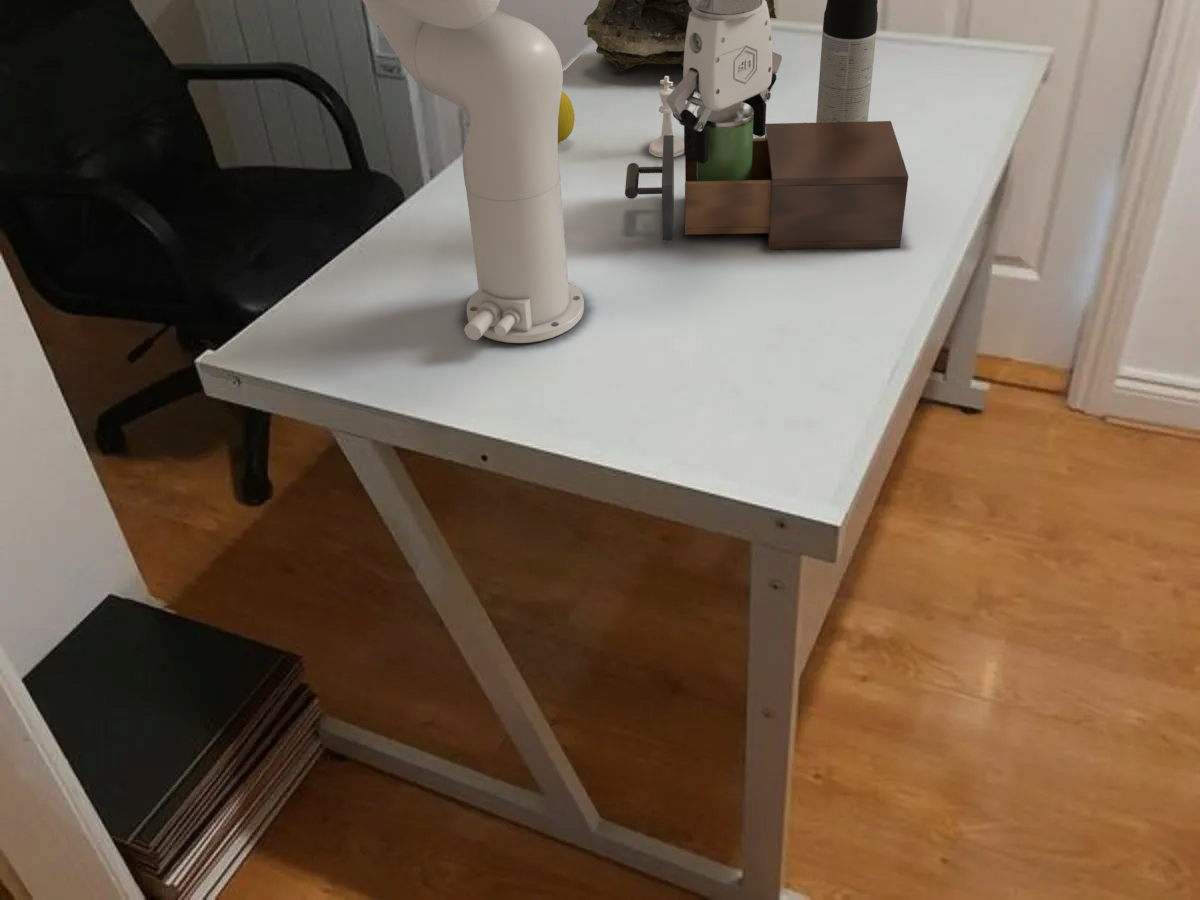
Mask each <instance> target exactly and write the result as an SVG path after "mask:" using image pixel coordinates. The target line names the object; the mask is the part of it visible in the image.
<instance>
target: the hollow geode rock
mask: <svg viewBox="0 0 1200 900" xmlns="http://www.w3.org/2000/svg"><path fill="white" fill-rule="evenodd" d="M765 1H766V2H767V6H768V11H769V17H770V19H775V20H776V19H777V18H778V17H777V15H776V10H777V9H776V8H775V0H765ZM691 11H692V8H691V7H690V5H689V2H688V0H598V2H597V6H596V8H595V9H594V10H593V11H592V12H591V13H590V14H589V15H587V16H586V17H585V19H584V22H583V25H584V26H586V31H587V32H586V33H587V34H586V35H587V38H591V40H592V41H593V42H595V44H596V45H597V47H596V50H595V52H596V53H597V54H599V55H602V56H603V58H604V59H605V60H606V61H608V62H609V63H611V64H613V65H615V66H616V69H617V70H618V71H619V72H623V71H626V70H628V69H631V68H633V67H635V66H642V65H644V64H656V65H659V64H661V65H666V64H670V65H671V64H673V65H674V64H680V65H681V66H682V67H684V50H685V40H686V31H687V25H688V19H689V14H690V12H691Z"/></svg>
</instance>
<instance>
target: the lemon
mask: <svg viewBox="0 0 1200 900" xmlns="http://www.w3.org/2000/svg"><path fill="white" fill-rule="evenodd" d="M575 121H576V116H575V109H574V106H573V103H572V101H571V98H570V97H569V96H568V95H567V94H566V92H565V91H562V92H561V100H560V107H559V117H558V145H559V144H560V143H561V142H563V141H565V140H566V139H568V138H569V136H570V135H571V134H572V132H573V129H574V126H575Z"/></svg>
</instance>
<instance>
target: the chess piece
mask: <svg viewBox="0 0 1200 900" xmlns="http://www.w3.org/2000/svg"><path fill="white" fill-rule="evenodd" d="M659 84H660V85H663V87H664V88H662V89H660V90H659V91H658V95H659V97H660V101H661V104H662V105H661V106H660V107H658V112H659V113H661V114H663V115H662V125H661V134H660V136H658V138H656V139H654V140H652V141H651V142H650V143H649V148H648V152H649V154H651V155H652V156H655V157H658V158H662V159H663V138H664V135H673V136H674V158H677V157H679V156H681V155H683V154H684V139H680V138H678V137H677V136H675V135H674V134H675V133H674V128H673V121H672V114H673V112H672V111H671V109H670V107H669V105H668V103H667V98H668V96H669V95H670V94H671V93H672V91H673V90H674V89H673V88H670V87H673V86H674V82H673V81H670V76H669V75H664V77H663V79H660V81H659Z"/></svg>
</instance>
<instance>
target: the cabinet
mask: <svg viewBox="0 0 1200 900" xmlns="http://www.w3.org/2000/svg"><path fill="white" fill-rule="evenodd" d="M764 138H766V140H767V148H768V157H769V165H770V173H771V182H772V183H771V206H770V229H769V233H767V241H768V249H769V250H804V249H805V250H807V249H810V250H811V249H812V250H813V249H816V250H817V249H873V248H874V249H877V248H878V249H879V248H880V249H881V248H882V249H883V248H884V249H886V248H901V244H902V236H903V228H904V227H903V226H904V219H905V211H906V210H905V209H906V201H907V192H908V183H909V174H908V170H907V167H906V164H905V161H904V157H903V155H902V151H901V149H900V145H899V142H898V138H897V135H896V133H895V130H894V126H893V123H892V121H891V120H877V121H875V120H873V121H869V120H868V121H867V122H821V123H816V122H785V123H784V122H782V123H781V122H780V123H777V122H776V123H766V126H765V135H764Z"/></svg>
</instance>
